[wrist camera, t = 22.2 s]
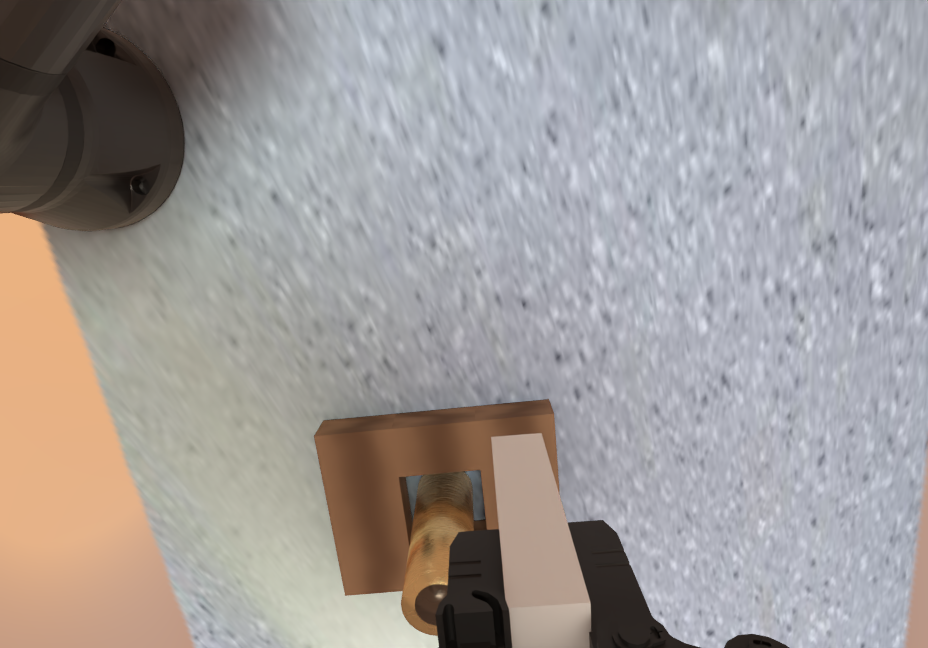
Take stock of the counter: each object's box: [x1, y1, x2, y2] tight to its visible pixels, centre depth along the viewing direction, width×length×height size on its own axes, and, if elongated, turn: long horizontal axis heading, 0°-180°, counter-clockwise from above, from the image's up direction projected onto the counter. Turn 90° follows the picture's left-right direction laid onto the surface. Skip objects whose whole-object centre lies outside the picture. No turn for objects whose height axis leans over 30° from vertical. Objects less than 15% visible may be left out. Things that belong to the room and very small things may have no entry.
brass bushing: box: [401, 471, 474, 636], centre depth 42 cm, size 5×5×14 cm
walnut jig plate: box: [314, 399, 560, 596], centre depth 47 cm, size 20×16×3 cm
